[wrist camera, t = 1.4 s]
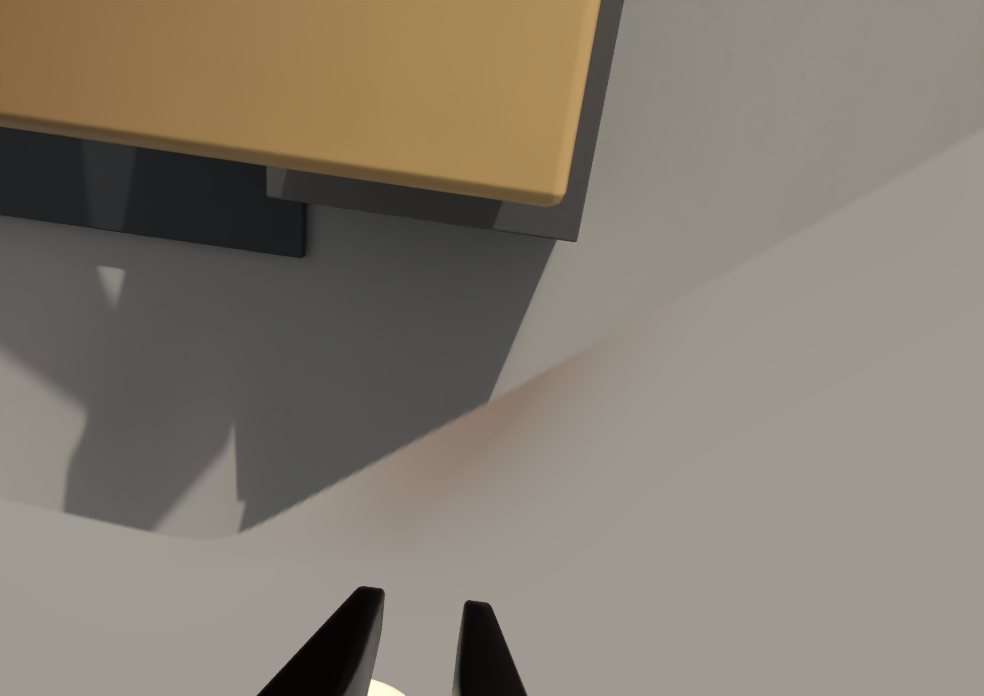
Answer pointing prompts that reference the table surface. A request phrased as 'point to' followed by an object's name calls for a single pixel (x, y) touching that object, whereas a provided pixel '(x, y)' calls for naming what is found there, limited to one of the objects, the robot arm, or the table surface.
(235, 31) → the maple block
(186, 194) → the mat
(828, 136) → the table surface
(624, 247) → the table surface
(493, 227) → the stand
